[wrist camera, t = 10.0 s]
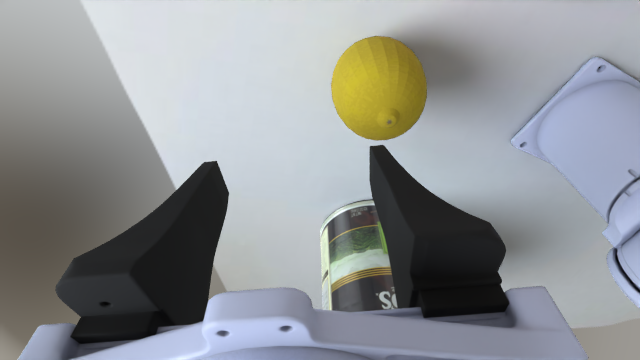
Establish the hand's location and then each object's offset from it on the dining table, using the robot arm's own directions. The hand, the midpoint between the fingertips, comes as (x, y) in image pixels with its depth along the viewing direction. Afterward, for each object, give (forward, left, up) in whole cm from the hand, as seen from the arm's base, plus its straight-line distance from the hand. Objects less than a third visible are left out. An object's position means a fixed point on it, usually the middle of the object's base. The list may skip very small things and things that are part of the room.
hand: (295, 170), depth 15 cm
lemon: (-4, -3, -11) cm, 12 cm away
